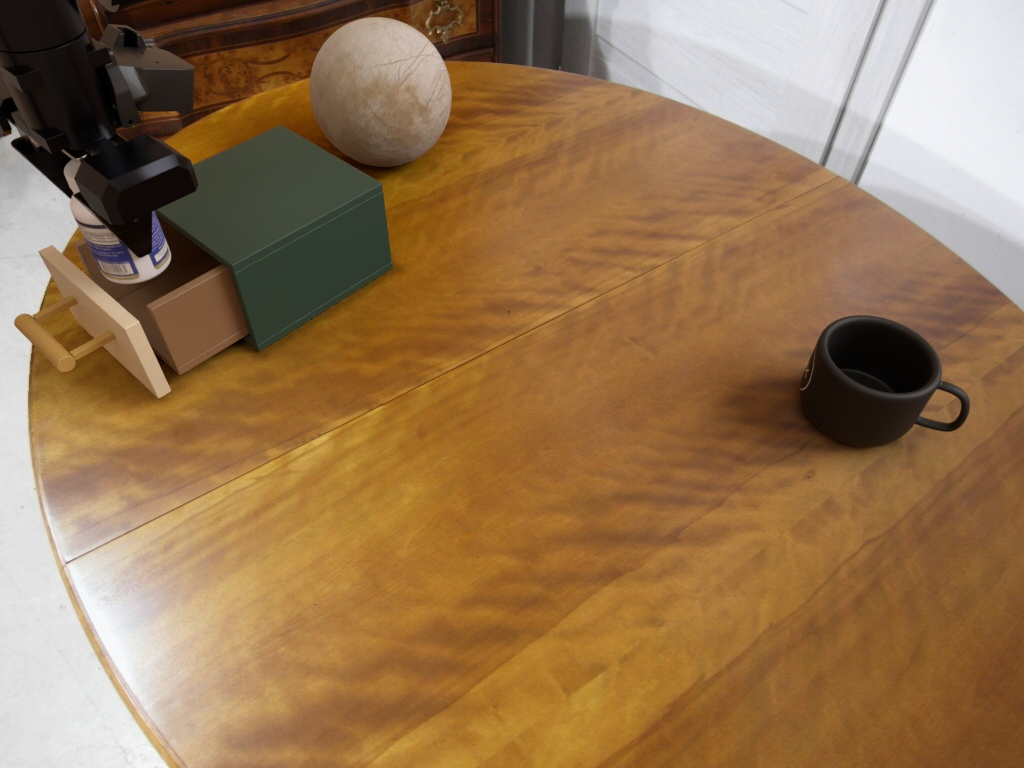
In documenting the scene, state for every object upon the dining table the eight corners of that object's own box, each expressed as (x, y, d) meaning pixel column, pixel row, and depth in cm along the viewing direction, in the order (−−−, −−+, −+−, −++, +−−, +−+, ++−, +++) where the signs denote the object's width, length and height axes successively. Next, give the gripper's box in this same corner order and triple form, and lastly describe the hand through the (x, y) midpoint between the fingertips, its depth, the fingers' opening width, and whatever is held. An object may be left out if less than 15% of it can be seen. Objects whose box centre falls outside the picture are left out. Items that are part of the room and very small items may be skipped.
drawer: (104, 433, 60) (62, 363, 54) (23, 349, 66) (-22, 278, 60) (303, 310, 70) (286, 240, 64) (217, 247, 76) (194, 177, 70)
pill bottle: (152, 235, 63) (113, 137, 57) (184, 265, 61) (147, 166, 54) (89, 263, 61) (40, 163, 54) (120, 295, 58) (72, 195, 52)
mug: (779, 430, 62) (805, 369, 57) (808, 360, 68) (834, 299, 63) (935, 491, 59) (978, 432, 53) (952, 412, 64) (993, 352, 59)
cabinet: (259, 352, 67) (231, 265, 60) (167, 277, 74) (132, 191, 67) (393, 268, 75) (382, 183, 68) (299, 208, 82) (281, 124, 75)
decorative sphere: (448, 119, 94) (442, -10, 83) (460, 189, 85) (454, 53, 73) (323, 126, 93) (300, -4, 82) (320, 198, 83) (293, 61, 72)
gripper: (237, 38, 48) (287, 244, 59) (86, -41, 56) (155, 152, 67) (61, 102, 42) (154, 316, 53) (-78, 3, 50) (28, 206, 62)
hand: (125, 239), depth 59 cm, fingers closed on pill bottle, 5 cm apart
